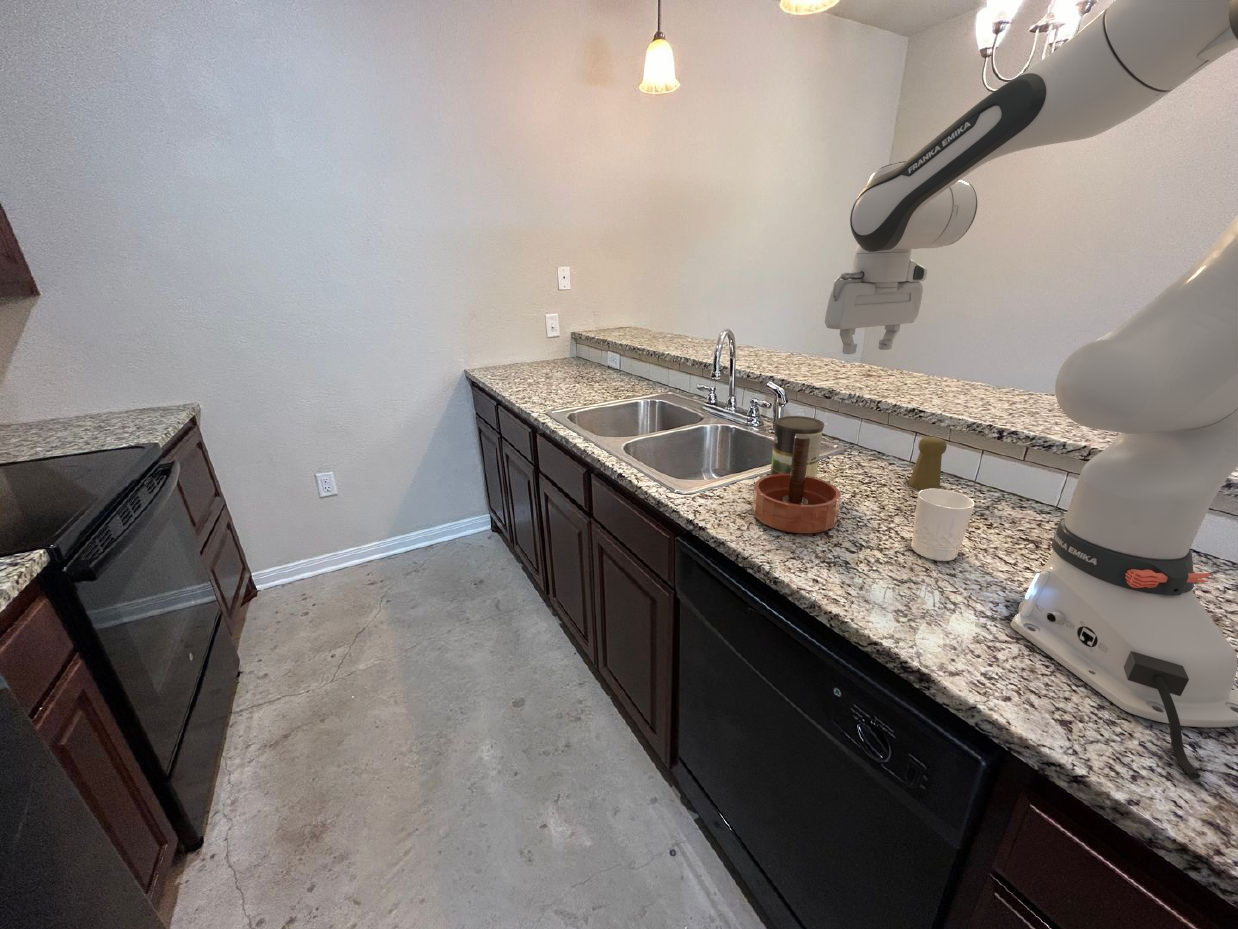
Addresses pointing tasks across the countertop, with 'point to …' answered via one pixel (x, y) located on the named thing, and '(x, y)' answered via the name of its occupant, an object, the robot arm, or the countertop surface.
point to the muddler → (798, 471)
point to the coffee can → (785, 442)
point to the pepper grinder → (928, 464)
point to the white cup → (940, 523)
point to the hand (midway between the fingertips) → (867, 351)
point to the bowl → (795, 516)
